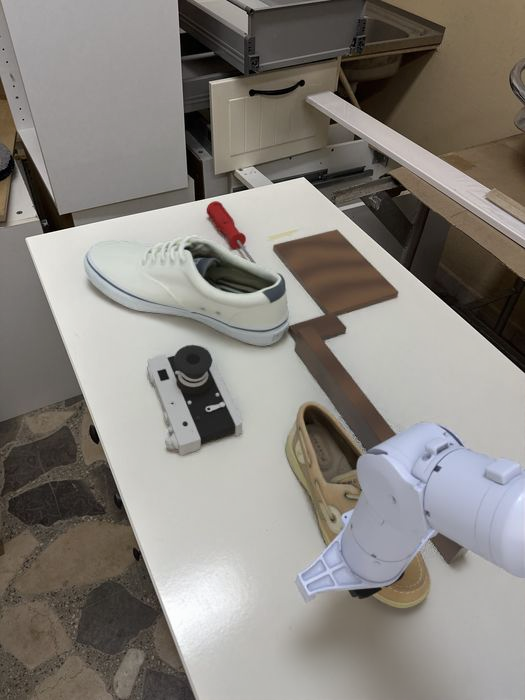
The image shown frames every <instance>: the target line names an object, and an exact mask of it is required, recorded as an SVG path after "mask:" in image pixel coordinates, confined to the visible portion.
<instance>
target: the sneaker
mask: <svg viewBox="0 0 525 700" xmlns="http://www.w3.org/2000/svg"><path fill="white" fill-rule="evenodd" d="M255 263H256V262H255ZM255 263H253V262H251V261H250V260H248V259H245V258H243V257H241V256H240V255H237V254H235V253H234V252H233V251H231V250H229V249H228V248H227V247H225V246H223V245H222V244H221V243H219V242H217V241H214V240H212V239H207V238H203V237H202V236H201V235H198V234H191V235H187V236H186V237H185V236H183V237H182V236H178V237H175V238H173V239H169V240H167V241H162V242H161V241H160V242H158V243H156V244H155V245H147V244H143V243H139V242H133V241H126V240H125V241H124V240H105V241H100V242H98V243H95V244H94V245H92V246H91V247H90V248H89V249H88V250H87V252H86V253H85V255H84V257H83V266H84V272H85V275H86V276H87V278H88V280H89V281H90V283H92V284H93V286H94V287H95V288H97V290H99V291H100V292H101V293H103V294H104V295H105V296H106V297H108V298H110V299H111V300H112V301H115V302H116V303H118V304H120V305H121V306H124V307H125V308H129V309H131V310H134V311H137V312H145V313H153V314H163V315H169V316H170V315H171V316H178V317H182V318H183V317H184V318H188V319H192V320H194V321H198V322H200V323H202V324H204V325H205V326H208V327H210V328H212V329H214V330H216V331H218V332H220V333H222V334H223V335H226V336H228V337H230V338H233V339H234V340H236V341H239V342H242V343H245V344H248V345H249V344H250V345H252V346H258V347H265V346H270V345H273V344H275V343H277V342H278V341H280V339H281V338H282V337H283V336H284V333H285V332H286V330H287V329H288V327H289V323H290V319H291V318H290V317H291V315H290V310H289V306H288V297H287V287H286V280H285V277H284V276H283V275H282V274H281V273H279V272H277V271H275V270H273V269H271V268H268V267H266V266H263V265H261V264H258V263H256V264H255Z"/></svg>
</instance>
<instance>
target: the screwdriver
mask: <svg viewBox="0 0 525 700" xmlns="http://www.w3.org/2000/svg"><path fill="white" fill-rule="evenodd" d="M206 215H208V217H209V218H210V220H211V221H212V223H213V224H214V225H215V227H216V228H217V230H218V231H219V232H221V233H223V234H224V235H225V237H226V238H227V239H228V243H229V246H230V248H232V249H241V250H242V251H243V253H244V254H245V255H246V257H247V258H248V259H249V261H250V262H253V263H255V264H257V263H256V261H255V260H254V259H253V256H251V255H250V253H249V252H248V250H247V249H246V248H245V246H244V245H245V244H246V241H247V238H246V235H245V234H244V233H242V232H240V231H239V230H238V228H237V227H236V223H235V221H234V219H233V217H232V216H231V214H230V213H229V211H227V210H226V208H225V207H224V205H223V204H222V202H220V201H217V200H216V201H212V202H210V203H209V204H207V206H206Z"/></svg>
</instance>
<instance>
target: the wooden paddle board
mask: <svg viewBox="0 0 525 700" xmlns="http://www.w3.org/2000/svg"><path fill="white" fill-rule="evenodd" d="M272 251H273V252H274V254H275V255H276V256H277V257H278V258H279V259H280V261H281V262H282V263H283V264H284V266H285V267H286V268H287V269H288V270H289V271H290V273H291V274H292V275H293V276H294V278H295V279H296V280H297V282H298V283H299V284H300V285H301V286H302V287H303V289H304V290H305V291H306V293H308V295H309V296H310V297H311V299H312V300H313V301H314V302H315V303H316V305H317V306H318V307H319V308H320V310H321V311H322V312H323V313H324V314H323V315H320V316H316V317H313V318H310V319H307V320H304V321H299V322H297V323H294V324H291V325H288V326H287V332H288V334H289V335H290V337H291V338H292V339H293V341H294V342H295V345H294V352H295V353H296V354H297V356H298V357H299V358H300V359H301V361H302V363H303V364H304V366H305V367H306V369H307V370H308V371H309V372H310V374H311V375H312V377H313V378H314V379H315V381H316V382H317V384H318V386H320V387H321V389H322V391H323V392H324V393H325V395H326V396H327V398H328V399H329V401H330V402H331V403H332V404H333V406H334V408H336V410H337V411H338V413H339V414H340V415H341V417H342V419H343V420H344V421H345V423H346V424H347V425H348V427H349V428H350V430H351V431H352V432H353V434H354V435H355V436H356V438H357V439H358V441H359V442H360V443H361V445H362V447H364V449H365V450H366V452H367V451H368V450H370V449H371V448H373V447H375V446H377V445H379V444H381V443H382V442H384V441H386V440H388V439H390V438H392V437H393V436H395V435H397V433H396V432H395V431H394V430H393V429H392V427H391V426H390V425H389V423H388V422H387V421H386V419H385V418H384V417H383V416H382V413H380V411H379V410H378V409H377V407H376V406H375V405H374V404H373V403H372V402H371V400H370V399H369V397H368V396H367V395H366V393H364V391H363V390H362V388H361V387H360V386H359V385H358V383H357V382H356V381H355V379H354V378H353V377H352V375H351V374H350V373H349V372H348V370H347V369H346V368H345V367H344V365H343V364H342V363H341V362H340V360H339V359H338V357H336V355H335V354H334V352H333V351H332V350H331V349H330V347H329V346H328V345H327V343H326V342H325V341H326V340H328V339H332V338H336V337H338V336H341V335H344V334H346V332H347V326H346V325H345V324H344V323H343V322H342V320H341V319H340V318H339V317H338V316H341V315H343V314H344V315H345V314H347V313H350V312H353V311H356V310H357V311H358V310H360V309H363V308H367V307H369V306H372V305H373V306H374V305H376V304H379V303H383V302H386V301H389V300H392V299H396V298H397V297H398V296H399V290H398V289H397V288H396V287H394V286H393V284H391V282H390V281H389V280H388V279H387V278H386V277H385V276H383V274H382V273H381V272H380V271H379V270H378V269H377V268H376V267H375V266H374V265H373V264H372V263H371V262H370V261H369V260H368V259H367V258H366V257H365V256H364V255H363V254H362V253H361V252H360V251H359V250H358V249H357V248H356V247H355V246H354V245H353V244H352V243H351V242H350V241H349V240H348V239H347V238H346V237H345V236H344V235H343V234H342V233H341V231H339V230H338V229H333V230H329V231H324V232H321V233H317V234H313V235H308V236H303V237H300V238H296V239H291V240H288V241H283V242H279V243H276V244H273V246H272ZM430 541H431V542H432V544H433V545H434V547H435V548H436V549H437V550H438V552H439V554H440V555H441V556H442V558H443V559H444V561H445V562H446V563H447V564H448V565H449V564H451V563H453V562H454V561H456V560H458V559H460V558H462V557H463V556H465V555H466V554H467V552H468V551H469V550H468V549H467V548H465V547H463V546H461V545H460V544H458V543H456V542H454V541H453V540H451V539H449V538H448V537H446V536H444V535H442V534H441V533H439V532H438V533H437V535H436V536H434V537H432V538H430Z"/></svg>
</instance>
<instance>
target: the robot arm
mask: <svg viewBox="0 0 525 700" xmlns="http://www.w3.org/2000/svg"><path fill="white" fill-rule="evenodd" d="M357 476H358V480H359V484H360V486H361V489H362V492H361V494H360V496H359V499H358V501H357V504H356V506H355V508H354V509H352V510H350V511H348V512H346V513H344V514H343V515H342V516H341V520H340V521H341V523H342V525H343V530H342V531H341V532H340V533H339V534H338V536H337V537H336V538H335V539H334V540H333V541H332V542H331V543H330V544H329V546H328V547H326V548H324V550H323V551H322V552H321V553H320V555H318V557H316V559H315V560H314V561H313V562H311V564H310V565H309V566H308V567H306V568H305V569H303V570H302V571H300V572H298V573H297V574H296V578H295V580H294V583H295V585H296V587H297V589H298V592H299V593H300V595H301V598H302V599H303V601H304V603H305V604H307V603H309V602H311V601H313V600H315V598H316V597H317V595H320V594H324V593H331V592H332V593H333V592H341V591H342V592H343V591H348V593H349V595H350V596H351V597H352V598H358V599H359V600H363V599H368V598H370V597H371V596H372V595H373V594H375V593H377V592H379V591H381V590H382V588H381V587H388V586H390V585H392V584H394V583H395V582H397V581H399V580H401V579H402V577H403V576H404V573H405V569H406V567H407V566H408V565H409V563H410V562H411V561H412V560H413V558H414V557H415V556H416V554H417V553H418V552H419V551H420V550H422V548H423V546H424V545H425V544H426V543H427V542H428V540H429V539H430V538H432V537H434V536H436V535H437V533H438V532H439V533H441V534H442V535H444V536H446V537H448V538H449V539H451V540H453V541H454V542H456V543H458V544H460V545H461V546H463V547H465V548H467V549H468V551H470V552H471V553H474V554H475V555H477V556H478V557H480V558H482V559H484V560H485V561H487V562H489V563H491V564H492V565H494V566H496V567H498V568H499V569H502V570H503V571H505V573H508V574H510V575H512V576H514V577H516V578H519V579H525V468H523V467H522V466H521V464H520V463H519V462H517V461H515V460H511V459H509V458H506V457H499V458H495V457H492V456H489V455H487V454H484V453H482V452H478V451H476V450H473V449H470V448H468V447H467V446H466V445H465V443H464V441H463V440H462V439H461V437H460V436H459V435H457V433H456V432H454V431H453V430H452V429H450V428H449V427H447V426H446V425H443V424H440V423H433V422H429V421H420V422H418V423H415V424H414V425H412V426H410V427H408V428H406V429H405V430H403V431H401V432H399V433H396V435H395V436H393V437H392V438H390V439H388V440H386V441H384V442H382V443H381V444H379V445H377V446H375V447H373V448H371V449H370V450H368V451H367V450H366V452H365V453H364V454H363V455H361V456H360V457H359V459H358V461H357ZM430 540H431V539H430Z"/></svg>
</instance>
